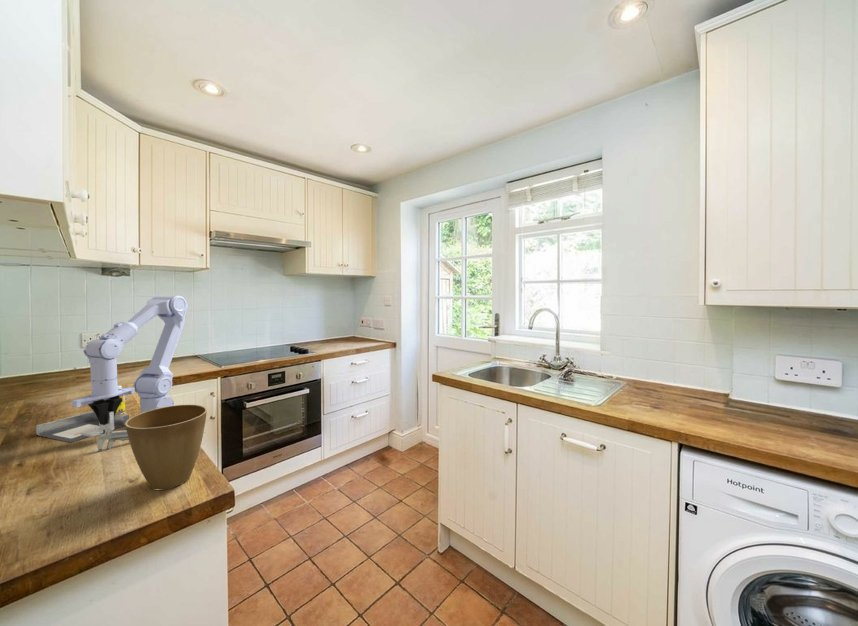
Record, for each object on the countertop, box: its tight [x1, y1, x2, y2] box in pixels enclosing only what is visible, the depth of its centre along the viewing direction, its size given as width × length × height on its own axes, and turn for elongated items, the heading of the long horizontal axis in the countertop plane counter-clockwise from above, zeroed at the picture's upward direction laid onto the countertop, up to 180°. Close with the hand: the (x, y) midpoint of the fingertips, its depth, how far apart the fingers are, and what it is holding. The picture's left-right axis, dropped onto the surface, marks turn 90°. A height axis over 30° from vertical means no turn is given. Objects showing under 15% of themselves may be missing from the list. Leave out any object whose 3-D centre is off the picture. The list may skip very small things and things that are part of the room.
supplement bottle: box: [116, 385, 126, 414], centre depth 123 cm, size 6×6×10 cm
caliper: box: [97, 428, 129, 453], centre depth 102 cm, size 20×1×6 cm, turn 143°
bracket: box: [80, 411, 115, 438], centre depth 100 cm, size 6×5×6 cm
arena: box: [35, 410, 130, 444], centre depth 109 cm, size 16×15×3 cm
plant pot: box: [124, 404, 208, 490], centre depth 78 cm, size 15×15×16 cm
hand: (106, 423), depth 102 cm, fingers closed on bracket
